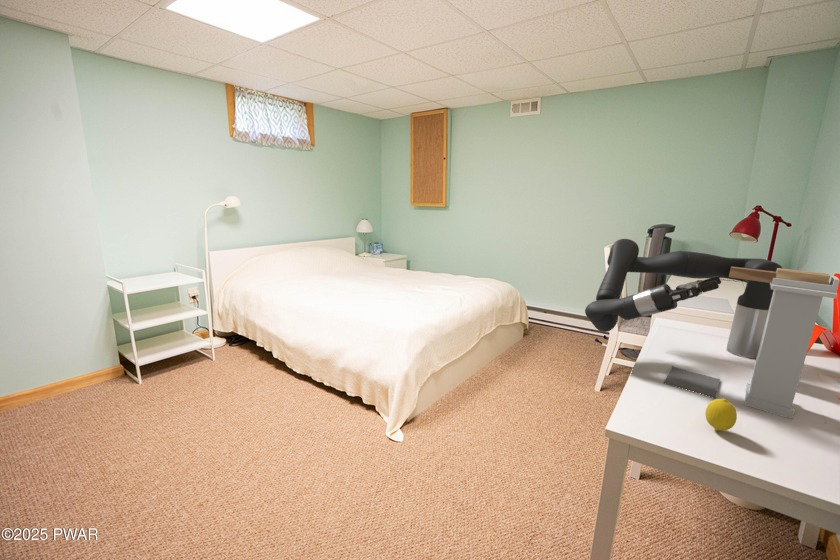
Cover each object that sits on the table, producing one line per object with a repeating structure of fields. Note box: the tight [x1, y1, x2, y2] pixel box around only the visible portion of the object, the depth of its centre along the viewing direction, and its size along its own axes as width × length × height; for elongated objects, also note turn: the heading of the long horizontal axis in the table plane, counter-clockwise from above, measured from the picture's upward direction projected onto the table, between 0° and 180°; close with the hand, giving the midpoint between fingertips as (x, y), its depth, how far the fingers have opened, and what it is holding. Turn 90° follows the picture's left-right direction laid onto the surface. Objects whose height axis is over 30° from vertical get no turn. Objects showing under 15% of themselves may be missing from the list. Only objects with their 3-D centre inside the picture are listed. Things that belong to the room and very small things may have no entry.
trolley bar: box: [729, 267, 831, 285], centre depth 95 cm, size 4×18×4 cm, turn 49°
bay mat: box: [663, 366, 721, 400], centre depth 111 cm, size 14×12×1 cm
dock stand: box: [744, 275, 840, 420], centre depth 96 cm, size 11×11×35 cm
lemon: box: [704, 398, 738, 432], centre depth 87 cm, size 6×6×8 cm
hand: (718, 281), depth 103 cm, fingers open, 8 cm apart
